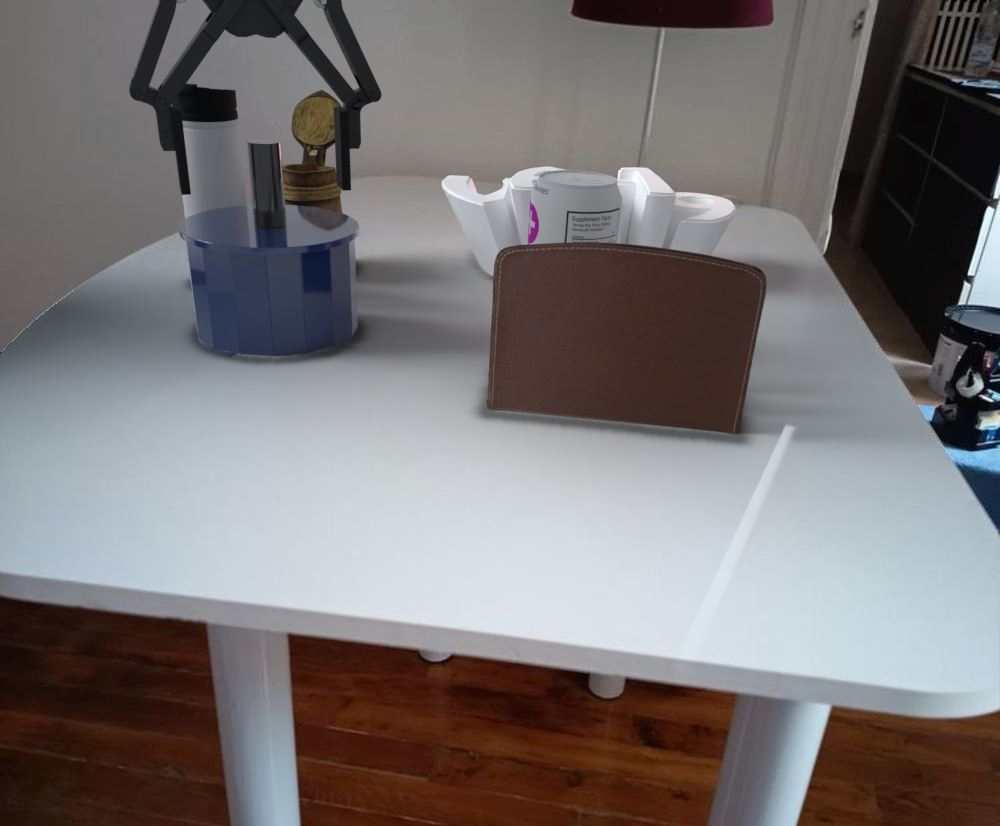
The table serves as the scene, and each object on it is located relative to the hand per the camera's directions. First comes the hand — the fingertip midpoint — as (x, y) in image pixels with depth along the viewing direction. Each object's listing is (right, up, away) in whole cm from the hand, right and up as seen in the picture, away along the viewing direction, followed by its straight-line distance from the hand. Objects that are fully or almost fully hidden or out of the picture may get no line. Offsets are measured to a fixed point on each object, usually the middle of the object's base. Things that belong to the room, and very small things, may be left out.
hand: (266, 189), depth 80 cm
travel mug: (-9, -4, +19) cm, 21 cm away
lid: (0, -3, +2) cm, 4 cm away
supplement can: (+27, -12, +9) cm, 30 cm away
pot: (-1, -11, +7) cm, 13 cm away
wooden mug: (-1, 0, +27) cm, 27 cm away
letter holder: (+30, -19, -4) cm, 36 cm away
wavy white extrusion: (+30, +1, +30) cm, 43 cm away
